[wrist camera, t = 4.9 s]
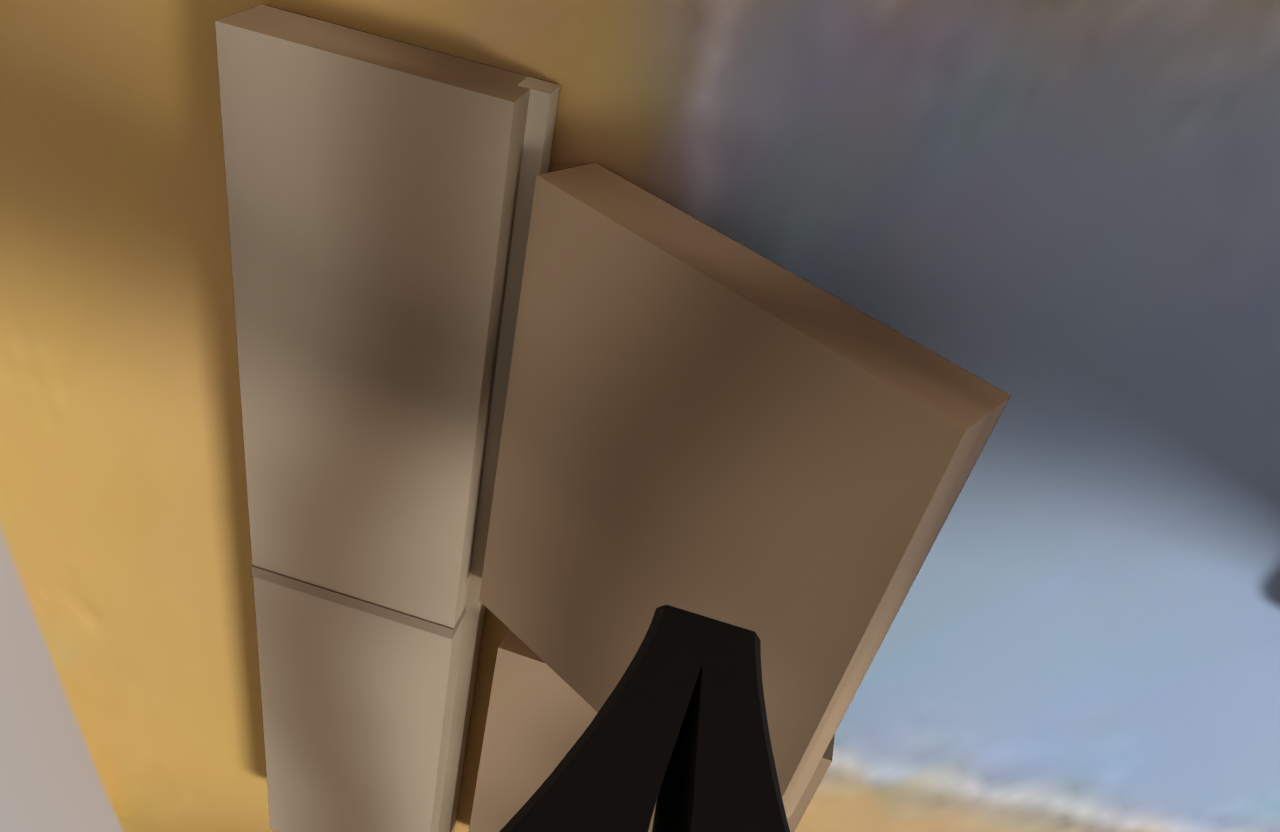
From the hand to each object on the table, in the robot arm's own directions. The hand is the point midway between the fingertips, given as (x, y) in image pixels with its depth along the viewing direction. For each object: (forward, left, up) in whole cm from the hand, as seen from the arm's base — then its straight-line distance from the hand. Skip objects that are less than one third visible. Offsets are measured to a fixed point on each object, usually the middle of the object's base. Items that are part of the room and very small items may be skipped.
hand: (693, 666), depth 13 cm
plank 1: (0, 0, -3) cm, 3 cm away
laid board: (+7, +5, -5) cm, 10 cm away
